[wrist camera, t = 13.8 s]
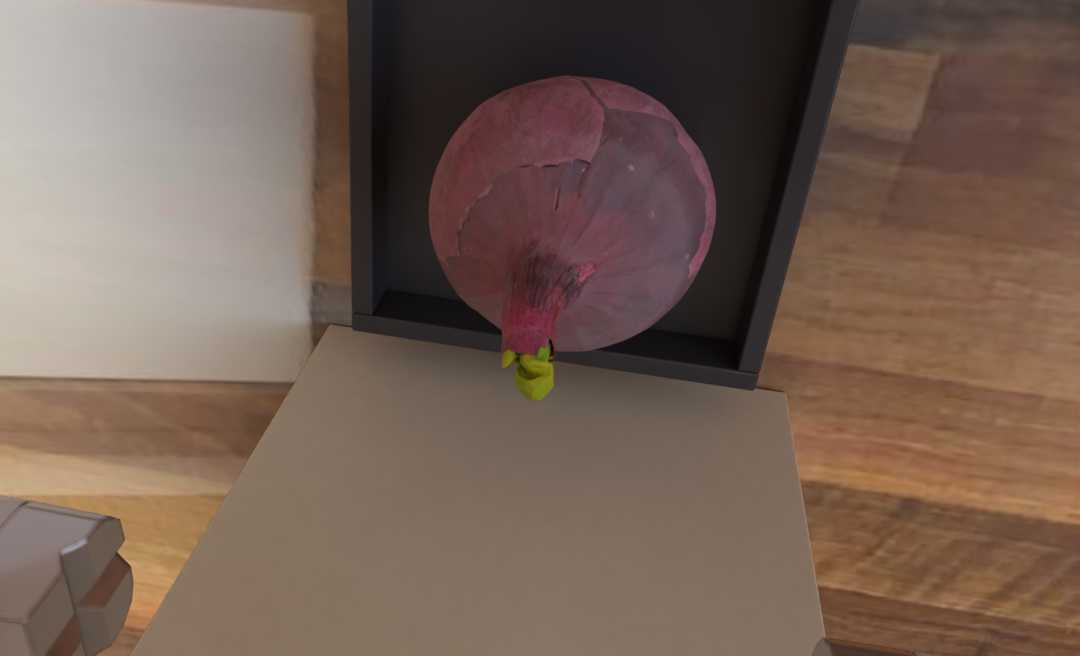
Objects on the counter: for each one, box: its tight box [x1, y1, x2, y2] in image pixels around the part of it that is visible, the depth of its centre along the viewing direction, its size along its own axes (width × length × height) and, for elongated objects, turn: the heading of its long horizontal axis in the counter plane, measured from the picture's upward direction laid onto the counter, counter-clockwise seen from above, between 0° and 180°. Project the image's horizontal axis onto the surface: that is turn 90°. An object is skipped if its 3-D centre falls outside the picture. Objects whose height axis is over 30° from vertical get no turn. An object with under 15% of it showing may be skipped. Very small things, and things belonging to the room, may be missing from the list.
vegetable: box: [429, 75, 716, 401], centre depth 20 cm, size 6×6×10 cm
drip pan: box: [347, 0, 860, 391], centre depth 24 cm, size 11×11×2 cm
